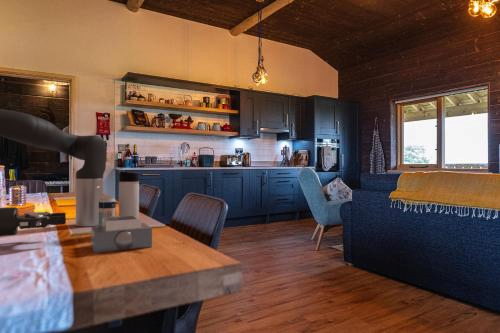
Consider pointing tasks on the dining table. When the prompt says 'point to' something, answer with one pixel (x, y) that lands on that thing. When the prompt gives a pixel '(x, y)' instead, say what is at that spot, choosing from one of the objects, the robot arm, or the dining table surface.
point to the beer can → (106, 208)
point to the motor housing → (120, 234)
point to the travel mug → (128, 194)
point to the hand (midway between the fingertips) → (65, 218)
